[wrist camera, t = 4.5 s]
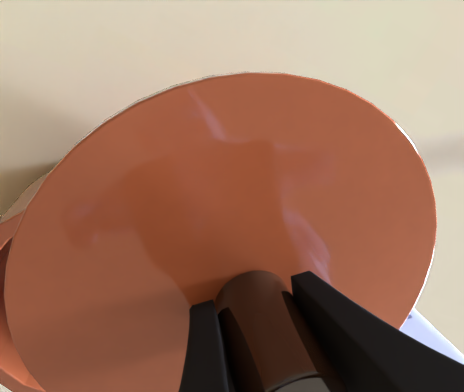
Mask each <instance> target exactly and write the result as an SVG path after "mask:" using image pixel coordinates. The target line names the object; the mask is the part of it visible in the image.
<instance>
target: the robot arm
mask: <svg viewBox="0 0 464 392" xmlns="http://www.w3.org/2000/svg"><path fill="white" fill-rule="evenodd" d="M291 286H292V296H293V297H294V299H295V301H296V302H297V304H298V306H299V307H300V309H301V311H302V312H303V314H304V316H305V317H306V319H307V321H308V322H309V324H310V326H311V327H312V329H313V331H314V332H315V334H316V336H317V337H318V339H319V341H320V342H321V344H322V346H323V347H324V349H325V351H326V352H327V354H328V356H329V357H330V359H331V361H332V362H333V364H334V366H335V367H336V369H337V371H338V372H339V374H340V375H341V377H342V379H343V380H344V382H345V384H346V386H347V390H348V392H464V356H463V355H462V353H461V352H459V351H458V350H457V349H456V348H455V347H454V346H453V345H452V344H451V343H450V342H449V341H448V340H447V339H446V338H445V337H444V336H443V335H442V334H441V333H440V332H439V331H438V330H436V329H435V328H434V327H433V326H432V325H431V324H430V323H429V322H428V321H427V320H426V319H425V318H424V317H423V316H422V315H421V314H420V313H419V312H418V311H417V310H416V309H415V308H414V307H413V309H412V311H411V312H410V314H409V316H408V317H407V319H406V321H405V322H404V324H403V325H402V326H401V328H400V329H399V330H398V329H397V328H395V327H393V326H391V325H390V324H388V323H387V322H385V321H383V320H382V319H380V318H378V317H377V316H375V315H374V314H372V313H371V312H369V311H368V310H366V309H365V308H363V307H362V306H360V305H358V304H357V303H355V302H354V301H352V300H351V299H350V298H348V297H347V296H345V295H344V294H342V293H341V292H339V291H338V290H337V289H335V288H334V287H332V286H331V285H330V284H328V283H327V282H325V281H324V280H323V279H321V278H320V277H318V276H317V275H316V274H314V273H313V272H311V271H310V270H309V271H306V272H303V273H299V274H296V275H292V276H291ZM189 315H190V318H189V334H188V342H187V350H186V356H185V362H184V367H183V373H182V379H181V383H180V388H179V392H235V390H234V386H233V383H232V379H231V375H230V371H229V366H228V361H227V356H226V350H225V344H224V340H223V336H222V332H221V328H220V323H219V319H218V316H217V312H216V309H215V305H214V302H213V299H212V300H208V301H205V302H202V303H198V304H195V305H192V306H191V308H190V309H189Z"/></svg>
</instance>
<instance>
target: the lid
mask: <svg viewBox="0 0 464 392" xmlns="http://www.w3.org/2000/svg"><path fill="white" fill-rule="evenodd" d="M436 229H437V217H436V202H435V197H434V193H433V188H432V184H431V180H430V177H429V175H428V172H427V170H426V167H425V165H424V162H423V160H422V158H421V156H420V155H419V153H418V151H417V150H416V148H415V147H414V145H413V143H412V142H411V140H410V139H409V137H408V136H407V135H406V134H405V133H404V132H403V131H402V130H401V128H400V127H399V126H398V125H397V124H396V123H395V122H394V121H393V120H392V119H391V118H390V117H389V116H387V115H386V114H385V113H384V112H382V111H381V110H380V109H379V108H377V107H376V106H375V105H374V104H372V103H371V102H369V101H367V100H365V99H363V98H361V97H360V96H358V95H356V94H354V93H352V92H350V91H349V90H347V89H344V88H341V87H338V86H335V85H332V84H330V83H327V82H324V81H321V80H318V79H313V78H307V77H302V76H296V75H291V74H285V73H279V72H237V73H229V74H220V75H212V76H206V77H203V78H199V79H195V80H191V81H188V82H184V83H180V84H176V85H173V86H170V87H168V88H166V89H163V90H161V91H158V92H156V93H154V94H151V95H149V96H147V97H144V98H142V99H139V100H137V101H136V102H134V103H132V104H131V105H129V106H127V107H126V108H124V109H122V110H121V111H119V112H117V113H115V114H114V115H112V116H110V117H109V118H107V119H105V120H104V121H103V122H102V123H100V124H99V125H98V126H97V127H95V128H94V129H93V130H92V131H90V132H89V133H88V134H87V135H86V136H84V137H83V138H82V139H81V140H79V141H78V142H77V143H76V144H75V145H74V146H73V147H72V148H71V149H70V150H69V151H68V152H67V154H66V155H65V156H64V157H63V158H62V159H61V160H60V161H59V162H58V163H57V164H56V166H55V167H54V168H53V169H52V170H51V171H50V172H49V174H48V175H47V176H46V178H45V179H44V181H43V182H42V184H41V185H40V187H39V188H38V190H37V191H36V193H35V194H34V196H33V197H32V199H31V200H30V202H29V203H28V205H27V207H26V209H25V211H24V214H23V216H22V218H21V220H20V222H19V225H18V227H17V229H16V231H15V233H14V236H13V240H12V244H11V248H10V251H9V255H8V259H7V263H6V271H5V285H4V300H5V308H6V317H7V323H8V327H9V330H10V333H11V336H12V339H13V342H14V345H15V348H16V350H17V352H18V353H19V355H20V357H21V359H22V361H23V363H24V365H25V367H26V368H27V370H28V371H29V372H30V374H31V375H32V376H33V377H34V379H35V380H36V381H37V382H38V384H39V385H40V386H41V387H42V388H43V389H44V390H45V391H46V392H179V388H180V383H181V379H182V373H183V367H184V362H185V356H186V350H187V342H188V334H189V318H190V315H189V309H190V308H191V306H192V305H195V304H198V303H202V302H205V301H208V300H212V299H213V302H214V305H215V309H216V312H217V316H218V319H219V323H220V328H221V332H222V336H223V340H224V344H225V350H226V356H227V361H228V366H229V371H230V375H231V379H232V383H233V386H234V390H235V392H348V390H347V386H346V384H345V382H344V380H343V379H342V377H341V375H340V374H339V372H338V371H337V369H336V367H335V366H334V364H333V362H332V361H331V359H330V357H329V356H328V354H327V352H326V351H325V349H324V347H323V346H322V344H321V342H320V341H319V339H318V337H317V336H316V334H315V332H314V331H313V329H312V327H311V326H310V324H309V322H308V321H307V319H306V317H305V316H304V314H303V312H302V311H301V309H300V307H299V306H298V304H297V302H296V301H295V299H294V297H293V296H292V286H291V276H292V275H296V274H299V273H303V272H306V271H309V270H310V271H311V272H313V273H314V274H316V275H317V276H318V277H320V278H321V279H323V280H324V281H325V282H327V283H328V284H330V285H331V286H332V287H334V288H335V289H337V290H338V291H339V292H341V293H342V294H344V295H345V296H347V297H348V298H350V299H351V300H352V301H354V302H355V303H357V304H358V305H360V306H362V307H363V308H365V309H366V310H368V311H369V312H371V313H372V314H374V315H375V316H377V317H378V318H380V319H382V320H383V321H385V322H387V323H388V324H390V325H391V326H393V327H395V328H397V329H398V330H399V329H400V328H401V326H402V325H403V324H404V322H405V321H406V319H407V317H408V316H409V314H410V312H411V311H412V309H413V307H414V305H415V304H416V302H417V299H418V297H419V295H420V293H421V291H422V289H423V287H424V284H425V281H426V278H427V275H428V272H429V269H430V266H431V263H432V258H433V253H434V248H435V242H436Z"/></svg>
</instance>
